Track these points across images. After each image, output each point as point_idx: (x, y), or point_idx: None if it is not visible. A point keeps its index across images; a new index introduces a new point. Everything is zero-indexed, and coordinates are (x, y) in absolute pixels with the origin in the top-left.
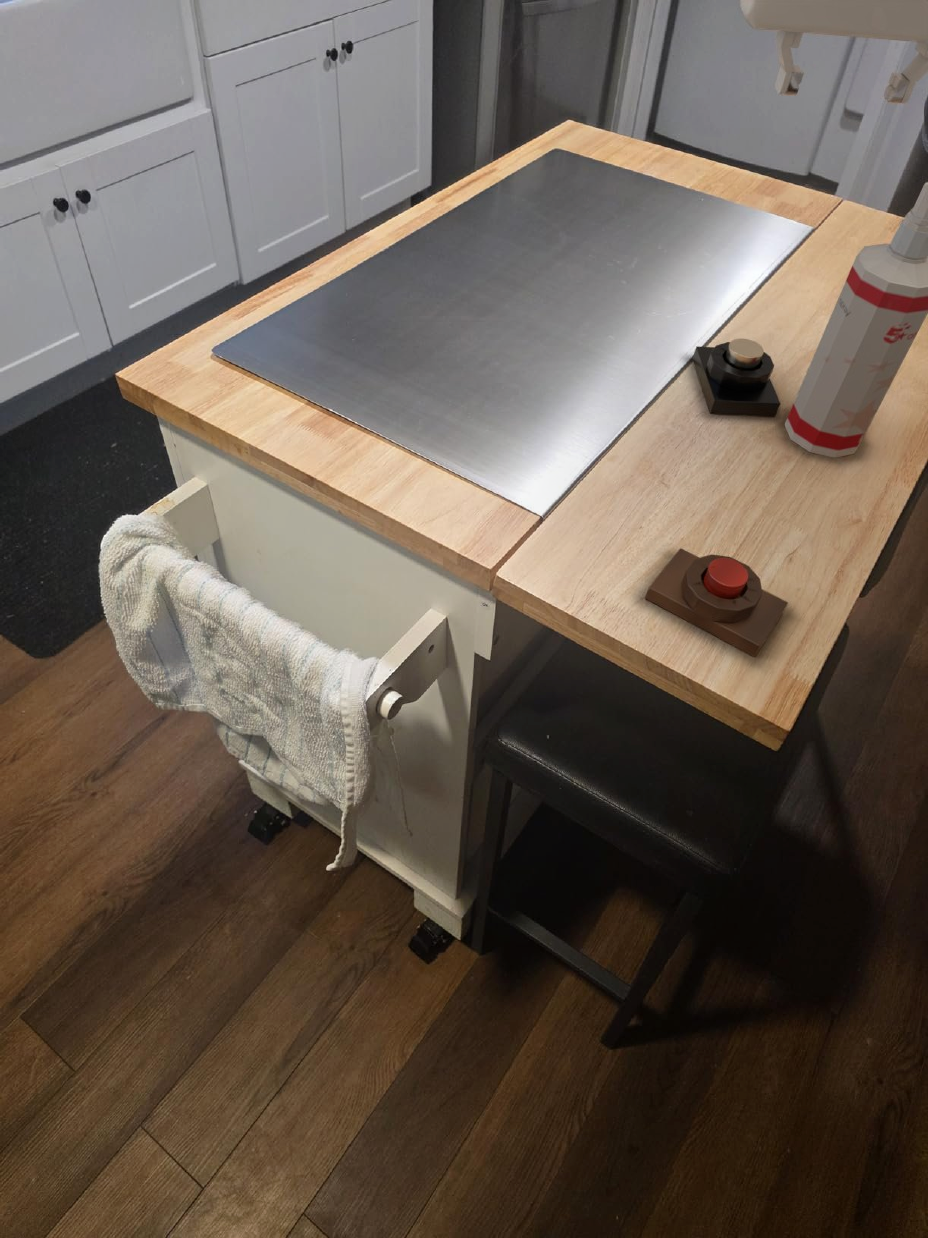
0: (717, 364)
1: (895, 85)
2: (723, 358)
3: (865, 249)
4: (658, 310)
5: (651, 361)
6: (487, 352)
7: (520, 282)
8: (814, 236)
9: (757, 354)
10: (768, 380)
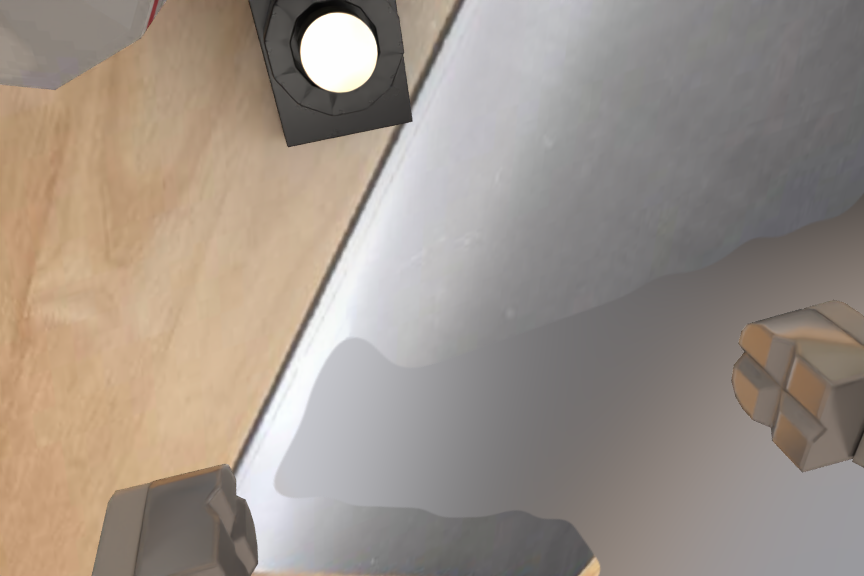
0: (391, 8)
1: (225, 540)
2: None
3: (135, 8)
4: (458, 252)
5: (483, 83)
6: (763, 29)
7: (671, 256)
8: None
9: (314, 31)
10: (264, 26)
